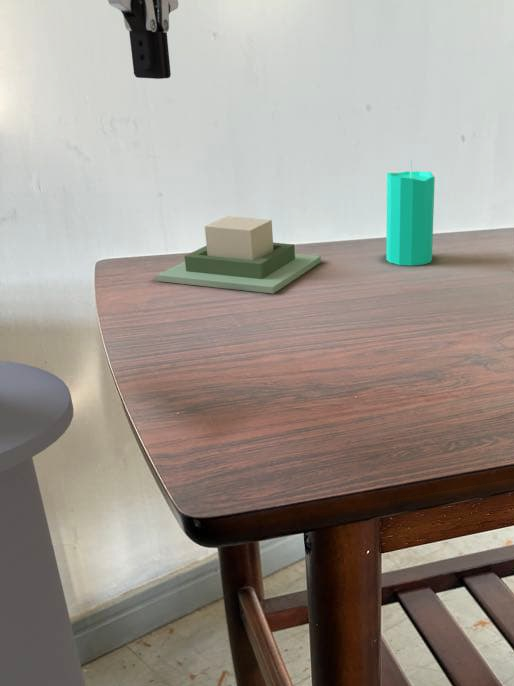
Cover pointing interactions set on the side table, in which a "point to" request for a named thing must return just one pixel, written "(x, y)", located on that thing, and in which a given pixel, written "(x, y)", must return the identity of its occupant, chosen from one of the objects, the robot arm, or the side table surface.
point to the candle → (410, 217)
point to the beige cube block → (239, 238)
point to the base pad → (242, 270)
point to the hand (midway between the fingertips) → (152, 77)
